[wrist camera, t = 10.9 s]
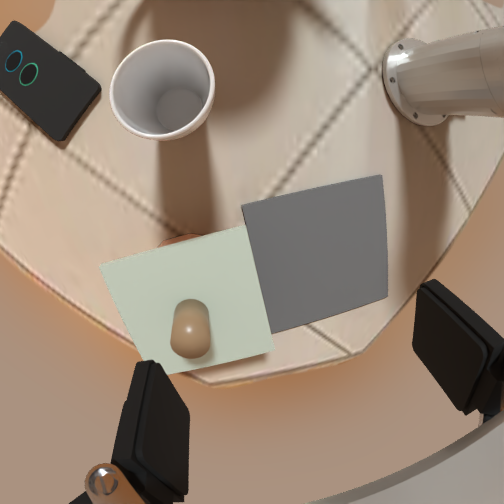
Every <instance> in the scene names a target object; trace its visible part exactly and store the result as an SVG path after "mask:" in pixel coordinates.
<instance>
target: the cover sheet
mask: <svg viewBox="0 0 504 504" xmlns="http://www.w3.org/2000/svg"><path fill="white" fill-rule="evenodd" d="M99 268H100V271H101V273H102V275H103V278H104V280H105V283H106V285H107V287H108V289H109V292H110V294H111V296H112V298H113V301H114V303H115V305H116V307H117V309H118V311H119V313H120V316H121V318H122V320H123V322H124V324H125V326H126V328H127V330H128V332H129V334H130V336H131V338H132V340H133V342H134V343H135V345H136V347H137V349H138V351H139V353H140V355H141V357H142V358H143V360H144V361H146V360H154V361H155V362H156V363H160V364H161V366H162V367H163V369H164V371H165V372H166V374H167V375H169V374H174V373H179V372H184V371H190V370H195V369H199V368H204V367H209V366H213V365H218V364H222V363H227V362H231V361H235V360H239V359H243V358H247V357H251V356H255V355H259V354H263V353H267V352H270V351H274V350H275V347H274V343H273V339H272V335H271V330H270V326H269V322H268V318H267V313H266V309H265V305H264V301H263V296H262V292H261V288H260V283H259V279H258V275H257V271H256V266H255V262H254V258H253V254H252V249H251V245H250V241H249V237H248V232H247V228H246V225H242V226H238V227H234V228H230V229H227V230H223V231H219V232H215V233H211V234H207V235H204V236H200V237H196V238H192V239H188V240H185V241H181V242H177V243H174V244H170V245H166V246H163V247H159V248H155V249H152V250H148V251H145V252H141V253H137V254H134V255H130V256H127V257H123V258H120V259H116V260H113V261H109V262H106V263H102V264H101V265H100V266H99Z"/></svg>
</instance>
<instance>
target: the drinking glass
mask: <svg viewBox="0 0 504 504" xmlns="http://www.w3.org/2000/svg"><path fill="white" fill-rule="evenodd" d="M109 99H110V105H111V109H112V111H113V114H114V116H115V118H116V119H117V121H118V122H119V123H120V124H121V125H122V126H123V127H124V128H125V129H126V130H127V131H129V132H131V133H132V134H134V135H136V136H139V137H142V138H146V139H150V140H156V141H169V140H175V139H179V138H182V137H184V136H187V135H189V134H190V133H192V132H194V131H195V130H196V129H197V128H199V127H200V126H201V125H202V124H203V122H204V121H205V120H206V119H207V117H208V115H209V114H210V111H211V109H212V107H213V103H214V99H215V78H214V73H213V69H212V67H211V65H210V63H209V61H208V60H207V58H206V57H205V56H204V54H203V53H202V52H200V51H199V50H198V49H197V48H195V47H194V46H192V45H190V44H188V43H185V42H182V41H178V40H157V41H153V42H150V43H147V44H144V45H142V46H140V47H138V48H137V49H135V50H134V51H132V52H131V53H130V54H129V55H127V56H126V57H125V58H124V60H123V61H122V62H121V63H120V65H119V66H118V67H117V69H116V71H115V73H114V75H113V78H112V81H111V84H110V91H109Z"/></svg>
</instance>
